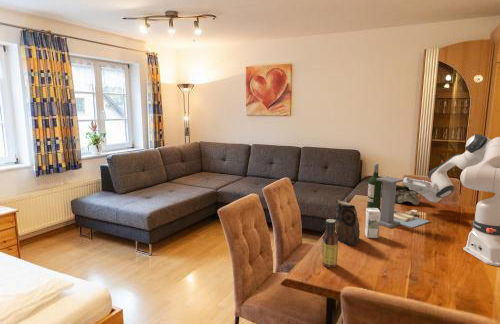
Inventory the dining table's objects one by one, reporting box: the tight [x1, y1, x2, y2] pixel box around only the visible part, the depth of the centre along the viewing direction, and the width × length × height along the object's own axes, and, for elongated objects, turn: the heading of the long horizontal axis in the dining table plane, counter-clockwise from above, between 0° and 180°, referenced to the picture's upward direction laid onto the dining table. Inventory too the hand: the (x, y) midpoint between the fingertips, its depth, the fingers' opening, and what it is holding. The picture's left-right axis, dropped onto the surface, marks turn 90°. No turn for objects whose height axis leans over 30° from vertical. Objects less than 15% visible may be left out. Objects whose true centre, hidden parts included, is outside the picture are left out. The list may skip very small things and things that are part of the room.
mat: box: [380, 210, 430, 229], centre depth 195 cm, size 18×24×1 cm
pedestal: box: [376, 175, 404, 229], centre depth 185 cm, size 10×10×26 cm
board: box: [394, 209, 419, 222], centre depth 198 cm, size 20×10×2 cm, turn 123°
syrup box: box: [364, 207, 381, 239], centre depth 168 cm, size 6×6×14 cm
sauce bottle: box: [321, 218, 339, 269], centre depth 138 cm, size 6×6×20 cm
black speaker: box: [334, 199, 361, 247], centre depth 163 cm, size 13×13×20 cm
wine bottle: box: [366, 162, 383, 211], centre depth 211 cm, size 8×8×30 cm
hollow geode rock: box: [381, 184, 420, 206], centre depth 228 cm, size 28×13×15 cm
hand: (414, 179), depth 197 cm, fingers open, 8 cm apart
